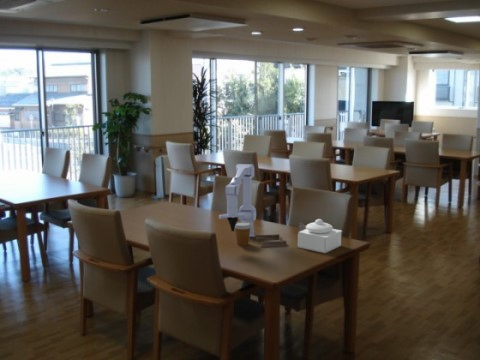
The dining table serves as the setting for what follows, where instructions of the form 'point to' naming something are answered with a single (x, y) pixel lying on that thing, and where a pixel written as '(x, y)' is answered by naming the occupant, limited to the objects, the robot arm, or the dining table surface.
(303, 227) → the architectural model on board
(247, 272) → the dining table surface
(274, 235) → the cup holder
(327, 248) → the butter dish
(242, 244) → the disposable coffee cup
